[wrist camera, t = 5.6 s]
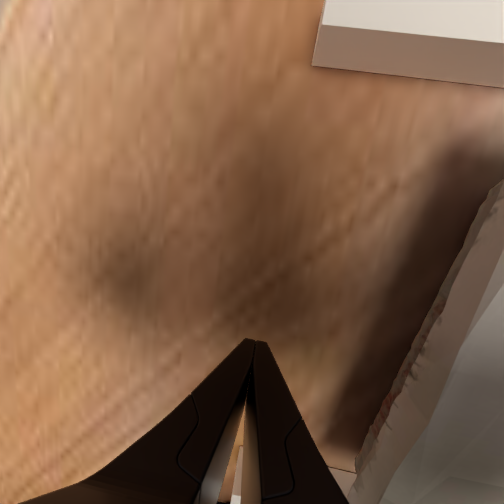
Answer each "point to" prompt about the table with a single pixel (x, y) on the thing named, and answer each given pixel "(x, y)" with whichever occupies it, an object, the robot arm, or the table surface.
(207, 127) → the table surface
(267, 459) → the robot arm
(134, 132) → the table surface
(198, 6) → the table surface
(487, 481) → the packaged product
